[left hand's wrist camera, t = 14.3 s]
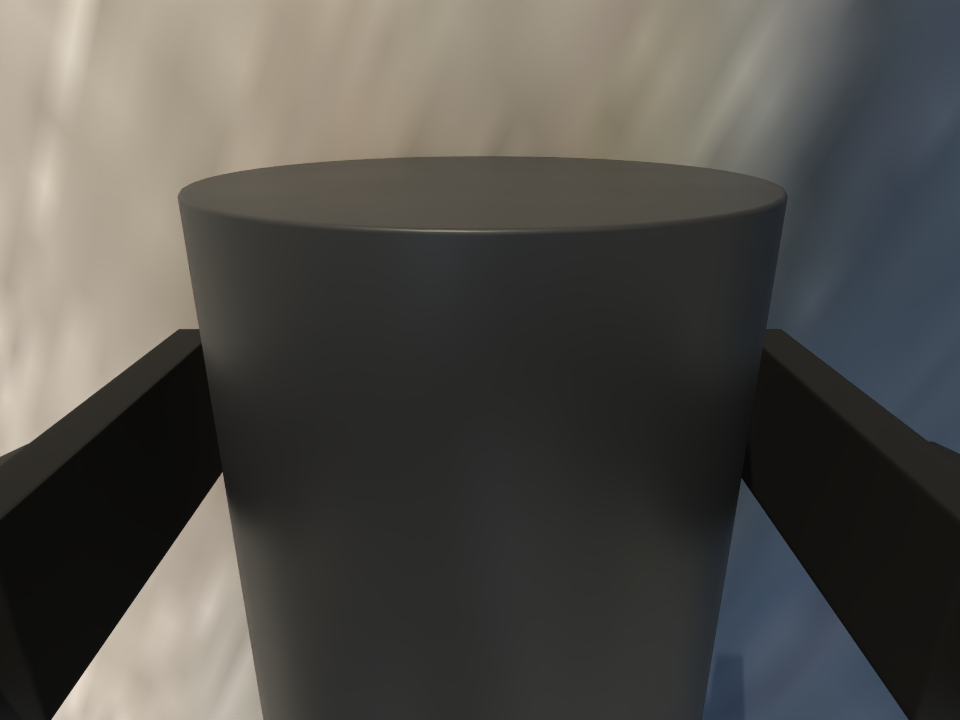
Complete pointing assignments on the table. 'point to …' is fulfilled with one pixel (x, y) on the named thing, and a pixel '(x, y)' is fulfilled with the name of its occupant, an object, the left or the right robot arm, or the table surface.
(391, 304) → the rod
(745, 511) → the table surface
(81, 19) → the table surface
